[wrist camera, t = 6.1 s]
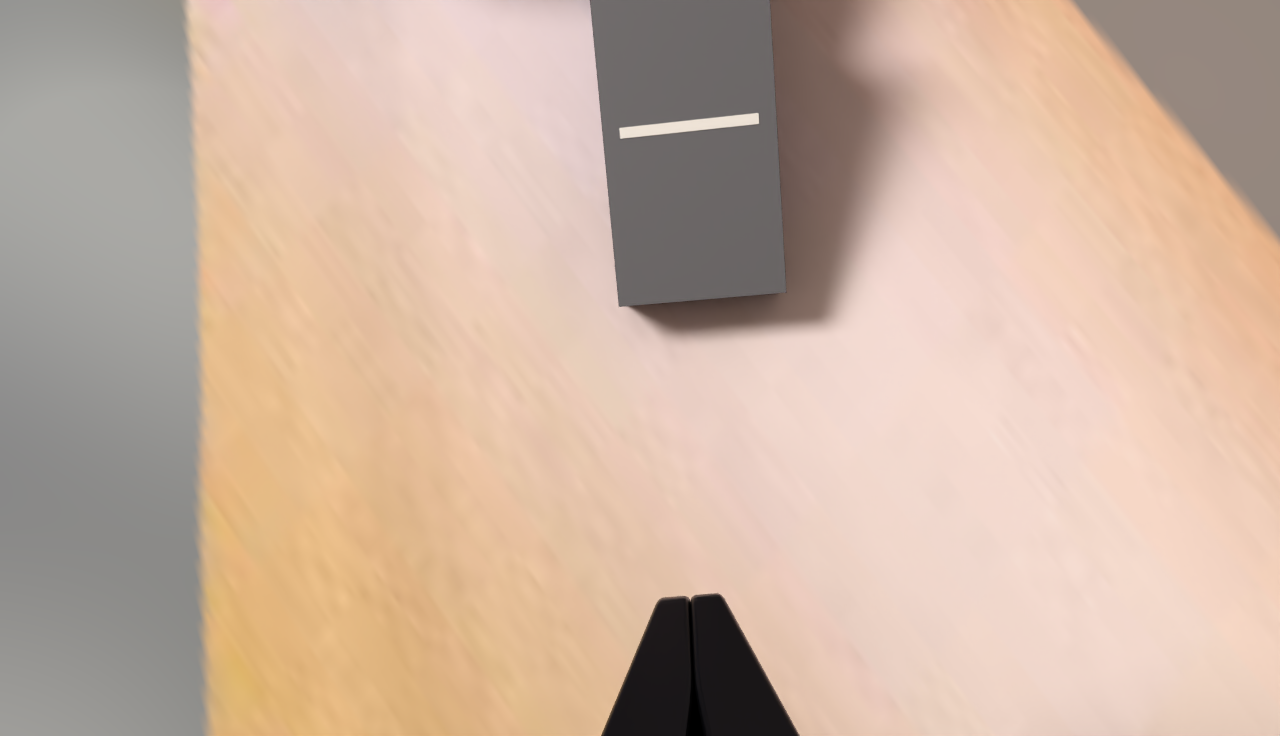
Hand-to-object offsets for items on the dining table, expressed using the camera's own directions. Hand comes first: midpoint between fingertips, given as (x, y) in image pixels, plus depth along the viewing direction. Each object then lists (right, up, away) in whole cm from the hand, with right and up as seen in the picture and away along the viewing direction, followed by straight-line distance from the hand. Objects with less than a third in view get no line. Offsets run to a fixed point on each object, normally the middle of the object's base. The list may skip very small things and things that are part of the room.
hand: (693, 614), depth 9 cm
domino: (+1, +5, +12) cm, 13 cm away
